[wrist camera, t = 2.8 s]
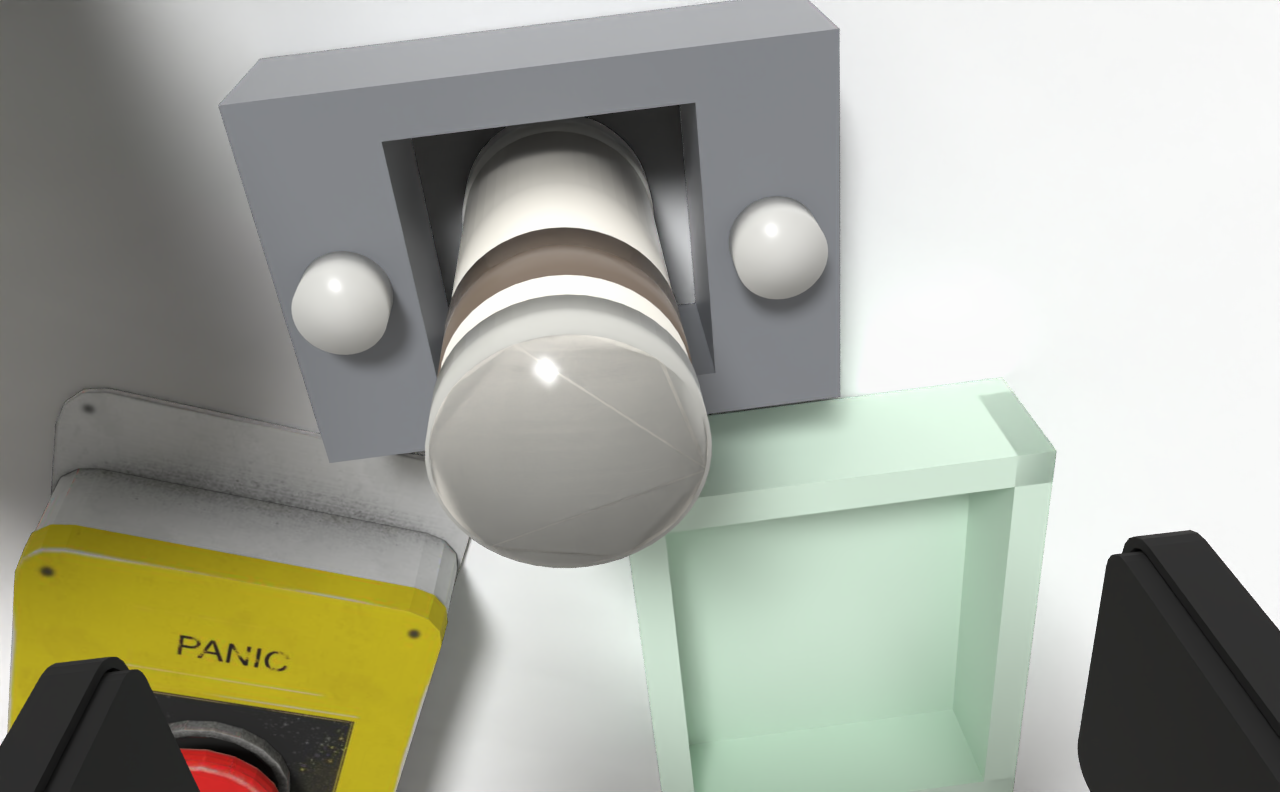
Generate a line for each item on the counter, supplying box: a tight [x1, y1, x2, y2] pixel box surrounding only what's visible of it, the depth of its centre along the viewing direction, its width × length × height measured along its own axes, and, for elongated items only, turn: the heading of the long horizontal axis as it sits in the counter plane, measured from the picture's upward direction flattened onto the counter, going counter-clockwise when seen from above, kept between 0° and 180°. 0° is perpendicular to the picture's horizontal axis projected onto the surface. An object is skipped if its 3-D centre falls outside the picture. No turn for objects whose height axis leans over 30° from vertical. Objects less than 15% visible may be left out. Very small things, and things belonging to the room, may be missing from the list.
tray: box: [629, 378, 1056, 792], centre depth 26 cm, size 11×9×3 cm
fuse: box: [425, 117, 712, 568], centre depth 18 cm, size 4×4×9 cm
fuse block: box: [218, 0, 840, 463], centre depth 20 cm, size 7×10×4 cm
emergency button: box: [7, 388, 469, 792], centre depth 26 cm, size 9×4×15 cm
